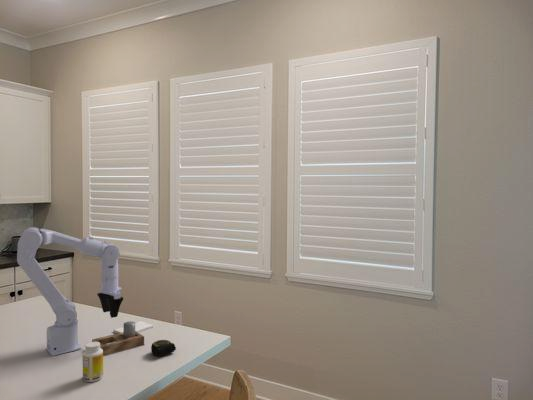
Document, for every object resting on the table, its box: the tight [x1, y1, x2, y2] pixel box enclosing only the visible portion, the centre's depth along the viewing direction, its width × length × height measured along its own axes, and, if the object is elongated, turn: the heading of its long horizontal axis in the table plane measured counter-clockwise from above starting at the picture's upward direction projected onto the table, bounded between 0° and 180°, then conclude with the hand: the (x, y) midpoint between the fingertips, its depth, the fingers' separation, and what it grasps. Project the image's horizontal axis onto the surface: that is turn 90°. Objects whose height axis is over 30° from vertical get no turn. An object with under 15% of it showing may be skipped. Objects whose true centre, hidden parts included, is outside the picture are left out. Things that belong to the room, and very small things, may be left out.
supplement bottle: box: [82, 341, 104, 383], centre depth 119 cm, size 6×6×10 cm
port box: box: [91, 331, 145, 357], centre depth 142 cm, size 15×9×3 cm, turn 131°
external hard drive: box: [113, 320, 154, 334], centre depth 159 cm, size 2×8×12 cm
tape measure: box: [150, 339, 177, 357], centre depth 137 cm, size 7×7×4 cm
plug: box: [123, 320, 136, 339], centre depth 144 cm, size 4×4×7 cm
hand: (110, 314), depth 146 cm, fingers open, 7 cm apart
